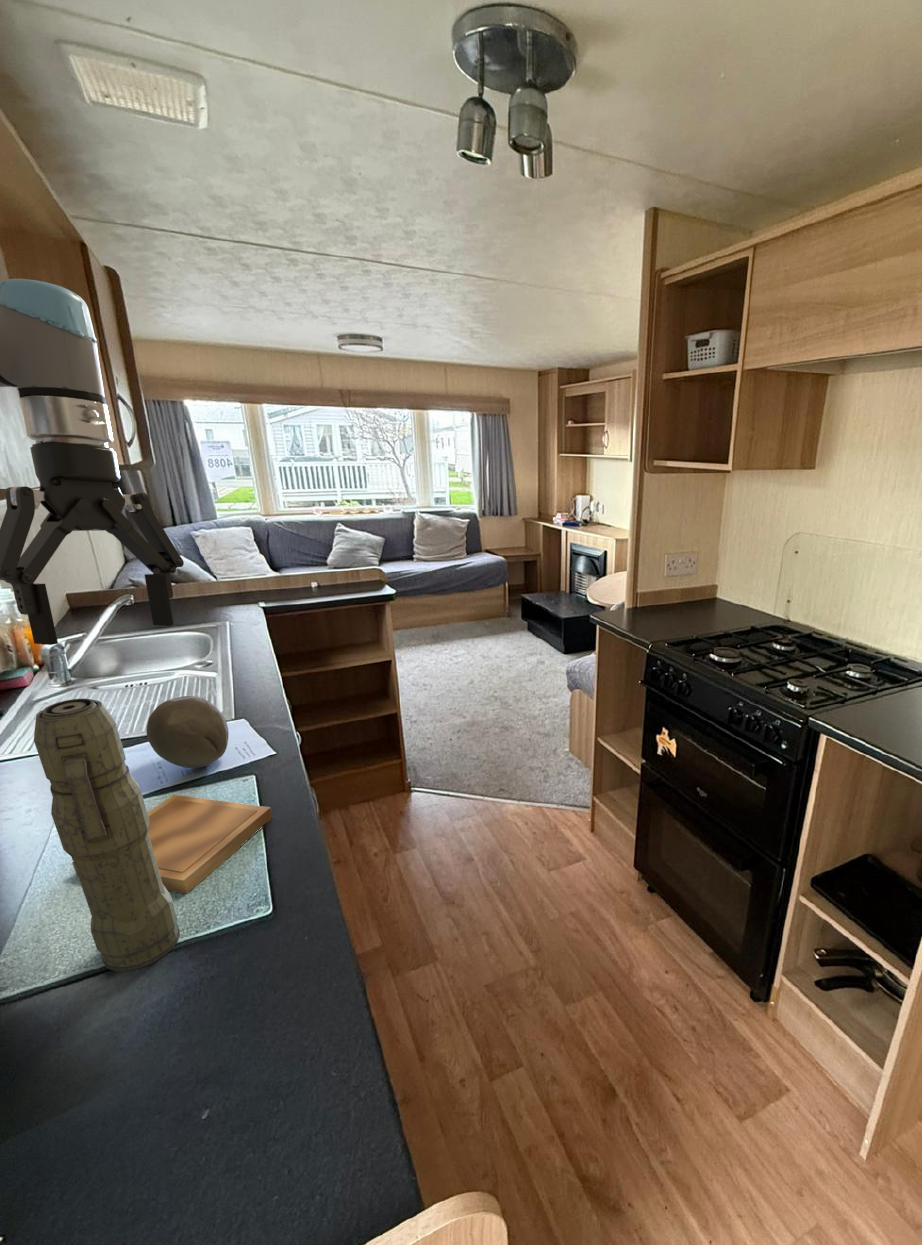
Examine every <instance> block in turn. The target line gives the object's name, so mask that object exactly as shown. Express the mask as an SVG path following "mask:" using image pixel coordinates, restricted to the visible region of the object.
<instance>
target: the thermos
mask: <svg viewBox="0 0 922 1245" xmlns="http://www.w3.org/2000/svg"><path fill="white" fill-rule="evenodd" d="M33 732H34V733H33V742H34V745H35V749H36V751H37V754H38V757H39V760H40V763H41V766H42V769H43V772H44V776H45V778H46V779H47V780H48V781H49V783H50V787H49V788H50V793H51V796H52V799H51V800H52V801H51V808H50V809H51V811H50V814H51V816H52V820H53V823H54V826H55V829H56V832H57V836H58V838H59V841H60V844H61V847H62V849H63V851H64V852H65V853H67V855H69V856H70V857H71V858H72V862H73V863H74V865H75V868H76V871H77V874H78V876H77V877H78V881H79V883H80V886H81V889H82V892H83V896H84V898H85V901H86V904H87V907H88V910H89V912H90V915H91V918H90V933H91V937H92V939H93V943H94V944H95V947H96V950H97V951H98V952H99V953H100V954H101V957H102V963H103V965H104V966H105V967H106V968H107V969H108V970H110V971H114V972H117V973H118V972H119V973H120V972H131V971H134V970H135V971H136V970H140V969H142V968H145V967H147V966H150V965H152V964H154V963H156V962H157V961H159V960H161V959H163V958H164V957H165V956H166V955H167V954H168V953H170V952H171V951H172V950H173V949H174V947H175V946H176V945H177V943H178V942H179V939H180V935H181V933H180V928H179V925H178V923H177V922H178V917H177V916H178V915H177V913H176V908H175V905H174V901H173V898H172V895H171V894H170V891H167V889H166V888H165V886H164V885H163V884H162V880H161V876H160V873H159V869H158V866H157V862H156V859H155V855H154V852H153V848H152V844H151V841H150V837H149V834H148V831H149V827H150V821H149V817H148V814H147V812H148V811H147V807H146V803H145V800H144V796H143V792H142V789H141V785H140V784H139V782H138V781H137V780H136V779H135V778H134V777H133V775H132V774H131V772H130V767H129V766H128V765H127V764H126V760H127V758H126V754H125V751H124V750H125V749H124V746H123V743H122V740H121V736H120V733H119V729H118V726H117V722H116V720H115V718H114V716H113V715H112V714H111V713H110V711H109V710H108V708H107V707H106V706H105V705H104V704H103V702H101V701H99V700H97V699H91V698H73V699H67V700H66V699H65V700H62V701H59V702H55V703H52V704H50V705H48V706H46V707H45V708H44V709H42V710H40V711H39V712H38V713H36V715H35V722H34V731H33Z"/></svg>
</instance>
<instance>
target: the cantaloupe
mask: <svg viewBox="0 0 922 1245" xmlns="http://www.w3.org/2000/svg"><path fill="white" fill-rule="evenodd" d="M229 733H230V732H229V726H228V723H227V720H226V718H225V716H224V714H223V713H222V712H221V710H220V709H219V708H218V707H217V706H216V705H214V704H213V703H211V702H210V701H209V700H208V699H205V698H203V697H200V696H196V695H184V696H179V697H178V696H177V697H173V698H170V699H167V700H165V701H163V702H161V703H160V704H158V706H156V708H155V709H154V710H153V711H152V712H151V713H150V715H149V717H148V720H147V724H146V738H147V741H148V743H149V744H150V746H151V748H152V749H153V751H154V752H155V754H157V756H159V757H160V758H161V759H162V760H165V761H167V762H168V763H170V764H172V765H175V766H178V767H181V768H185V769H188V768H189V769H201V768H202V769H203V768H205V767H207V766H209V765H212V764H213V763H215V762H216V761H218V760H220V758H222V757H223V755H224V754H225V753H226V751H227V749H228V744H229V737H230V736H229Z"/></svg>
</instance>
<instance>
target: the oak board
mask: <svg viewBox="0 0 922 1245" xmlns="http://www.w3.org/2000/svg"><path fill="white" fill-rule="evenodd" d="M147 814H148V817H149V821H150V827H149V831H148V834H149V837H150V841H151V844H152V848H153V852H154V855H155V859H156V862H157V866H158V869H159V873H160V876H161V880H162V884H163V885H164V886H165V888H166V889H167V891H168V892H175V893H180V894H189V893H190V892H191V891H192V890H193V889H195V888H196V887H197V886H198V885H199V884H200V883H201V882H203V881H204V880H205V879H206V878H207V877H208V876H209V875H211V874H212V873H213V872H214V871H215V870H217V869H218V868H219V867H220V866H221V865H222V864H224V862H225V861H227V860H228V859H229V858H230V857H231V856H232V855H233V854H234V853H236V852H237V851H238V850H239V849H240V848H241V847H242V846H243V845H245V844H246V843H247V842H248V841H249V840H250V839H252V838H253V837H254V836H256V834H257V833H255V832H256V831H257V830H259V829H260V828H261V827H262V826H263V825H264V824H265V823H266V822H268V821H269V820H270V821H269V822H268V823H267V824H266V825H268V824H269V823H270V822H271V821H273V815H272V814H273V813H272V809H271V807H269V806H262V805H255V804H249V803H247V804H246V803H239V802H232V801H225V800H218V799H217V800H216V799H209V798H203V797H194V796H188V795H187V796H186V795H179V794H173V795H171V796H170V797H168V798H167V799H164V800H163V801H162V802H160V803H159V804H158V805H156V806H154V807H153V808H151V809H149V811H147ZM271 818H272V819H271ZM264 827H265V826H263V827H262V828H261V829H260V830H259V831H258V832H260V831H261V830H262V829H263V828H264ZM253 834H254V835H253ZM252 835H253V836H252ZM250 837H251V838H250ZM249 838H250V839H249ZM248 839H249V840H248ZM246 840H247V841H246ZM245 841H246V842H245ZM244 842H245V843H244ZM243 843H244V844H243ZM242 844H243V845H242ZM241 845H242V846H241ZM240 846H241V847H240ZM72 866H73V869H74V872H75V876H77V877H78V874H77V871H76V868H75V865H74V863H73V861H72Z"/></svg>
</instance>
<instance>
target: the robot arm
mask: <svg viewBox="0 0 922 1245" xmlns="http://www.w3.org/2000/svg"><path fill="white" fill-rule="evenodd" d="M98 344H99V342H98V338H96V335H95V331H94V326H93V322H92V318H91V314H90V310H89V307H88V305H87V303H86V301H85V300H84V299H83V298H82V297H81V296H80V295H78V294H77V293H75V292H74V291H72V290H70V289H68V288H66V287H64V286H60V285H58V284H54V283H50V282H46V281H42V280H36V279H27V278H9V279H6V280H2V281H0V388H9V387H11V388H16V389H17V391H18V397H19V401H20V406H21V411H22V415H23V416H22V417H23V421H24V422H23V423H24V426H25V433H26V436H27V437H28V439H30V440H32V441H35V443H33V444H32V445H31V447H30V448H29V449H30V454H31V458H32V464H33V467H34V468H33V469H34V473H35V476H36V478H37V480H38V482H39V489H32V487H29V486H9V487H7V488H6V489H5V492H4V493H5V502H6V503H5V504H6V511H5V513H4V516H3V519H2V522H1V524H0V581H3V582H5V583H7V584H10V585H11V587H12V590H13V594H14V599H15V603H16V608H17V611H18V613H19V614H20V615H26V616H27V618H28V622H29V627H30V631H31V635H32V640H33V644H35V645H45V646H53V645H59V642H58V636H57V632H56V627H55V623H54V618H53V613H52V609H51V604H50V598H49V595H48V590H47V586H46V585H47V584H46V583H42V582H41V583H37V582H36V581H37V579H38V577H39V576H40V575H41V573H42V572H43V571H44V569H45V568H46V566H47V565H48V564H49V562H50V560H51V559H52V557H53V556H54V554H55V552H57V550H58V548H59V547H60V545H61V544H62V543H63V541H64V539H65V538H66V537H67V536H68V535H70V534H71V533H72V532H80V531H81V532H88V531H92V532H95V531H96V532H97V531H99V532H100V531H101V532H102V531H103V532H104V531H105V532H107V533H108V534H110V535H112V536H113V537H114V538H116V539H117V540H118V541H119V542H120V543H121V545H123V546H124V547H125V548H126V549H127V550H128V551H129V552H130V553H131V554H132V555H133V556H134V557H135V558H136V559H137V560H138V561H139V562H140V563H142V564H143V565H144V566H145V568H147V569H148V570H149V571H150V572H151V573H145V574H144V581H145V587H146V592H147V597H148V604H149V608H150V615H151V621H152V625H153V626H161V627H162V626H163V627H169V626H174V618H173V612H172V606H171V601H170V599H173V597H174V592H173V591H174V589H173V583H172V579H171V574H175V573H176V571H177V569H178V568H182V567H183V566H184V564H185V563H184V562H185V561H184V559H183V558H182V557H181V554H180V553H179V552H178V550H177V548H176V547H175V545H174V544H173V542H172V540H171V538H170V537H169V535H168V534H167V532H166V531H165V529H164V528H163V526H162V524H161V522H160V521H159V518H157V516H156V515H155V513H154V511H153V508H152V505H151V501H150V498H149V495H148V494H147V493H146V492H143V491H139V492H138V491H137V492H126V494H123V493H122V491H121V489H120V486H119V485H120V480H121V475H120V469H119V464H118V457H117V452H116V451H114V449H113V448H112V447H109V445H111V444H112V443H113V442H114V437H113V432H112V431H113V430H112V426H111V420H110V415H109V409H108V405H107V400H106V396H105V390H104V384H103V378H102V371H101V366H100V359H99V351H98ZM41 505H42V507H43V508H45V510H46V511H47V512H48V514H47V515H46V516H45V517H44V519H43V520H42V521H41V523H40V529H39V531H38V532H37V533H36V534H35V536H34V537H33V539H32V540H31V542H30V543H29V544H28V546H27V547H26V549H25V550H24V548H25V544H26V542H27V539H28V536H29V532H30V529H31V526H32V523H33V521H34V517H35V512H36V510H38V508H39V507H40V506H41ZM124 509H125V510H126V511H128V512H129V514H130V517H131V518H132V520H133V521H134V523H135V524H136V526H137V528H138V529H139V531H140V533H141V534H142V535H141V534H140V533H139V532H138V531H137V530H136V529H135V528H134V524H133V523H132V522H131V521H130V520H129V519H128V517H127V516H125V515H124V514H123V512H122V511H123V510H124ZM23 550H24V552H23Z"/></svg>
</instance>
